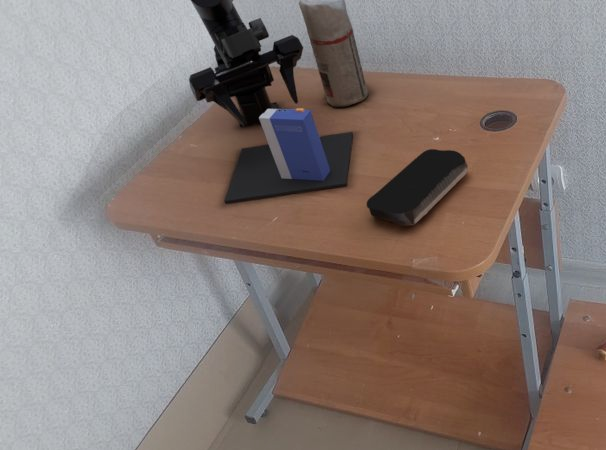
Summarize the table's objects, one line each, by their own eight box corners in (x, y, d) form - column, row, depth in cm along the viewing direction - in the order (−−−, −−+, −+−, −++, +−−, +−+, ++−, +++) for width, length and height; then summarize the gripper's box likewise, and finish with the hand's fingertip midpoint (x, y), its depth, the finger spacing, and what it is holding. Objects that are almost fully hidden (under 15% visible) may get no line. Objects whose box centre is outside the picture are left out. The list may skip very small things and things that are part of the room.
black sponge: (410, 237, 100) (405, 217, 97) (366, 220, 104) (360, 200, 102) (474, 173, 109) (471, 154, 106) (431, 160, 113) (427, 141, 111)
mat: (242, 151, 124) (241, 148, 124) (353, 134, 123) (352, 131, 122) (225, 203, 113) (223, 201, 112) (346, 186, 111) (345, 183, 111)
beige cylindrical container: (326, 90, 136) (297, -9, 124) (368, 82, 136) (342, -18, 124) (326, 112, 130) (294, 10, 117) (369, 104, 130) (342, 1, 117)
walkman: (330, 170, 114) (310, 107, 107) (323, 181, 112) (302, 117, 105) (288, 168, 117) (265, 106, 109) (281, 178, 115) (257, 116, 107)
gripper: (166, 29, 104) (216, 123, 104) (281, -13, 110) (328, 75, 110) (173, 57, 115) (218, 141, 115) (277, 17, 120) (320, 97, 121)
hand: (271, 113), depth 115 cm, fingers open, 9 cm apart
